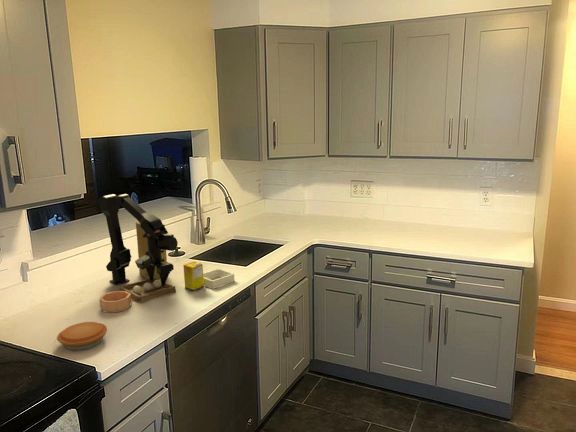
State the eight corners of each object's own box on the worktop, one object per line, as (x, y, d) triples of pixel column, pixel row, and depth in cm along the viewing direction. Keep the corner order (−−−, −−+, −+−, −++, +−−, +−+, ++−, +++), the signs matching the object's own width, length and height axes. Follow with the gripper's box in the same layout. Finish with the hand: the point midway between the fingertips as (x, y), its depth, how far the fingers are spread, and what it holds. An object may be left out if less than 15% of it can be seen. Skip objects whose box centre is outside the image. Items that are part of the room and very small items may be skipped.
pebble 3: (151, 287, 205) (151, 279, 204) (159, 285, 208) (158, 277, 207) (156, 289, 203) (155, 281, 202) (163, 287, 205) (163, 279, 205)
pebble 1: (131, 294, 198) (130, 285, 198) (139, 291, 201) (138, 283, 200) (135, 296, 196) (135, 288, 195) (143, 293, 199) (142, 285, 198)
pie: (112, 330, 168) (111, 317, 167) (102, 351, 153) (101, 337, 152) (66, 333, 165) (64, 320, 164) (51, 356, 151) (49, 341, 149)
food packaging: (169, 276, 220) (165, 224, 215) (149, 281, 215) (145, 227, 209) (157, 269, 231) (153, 219, 225) (138, 273, 225) (134, 222, 219)
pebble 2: (141, 290, 202) (141, 282, 201) (149, 288, 204) (148, 280, 204) (146, 293, 199) (145, 284, 199) (153, 290, 202) (153, 282, 201)
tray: (120, 292, 202) (119, 287, 202) (154, 282, 214) (153, 277, 213) (141, 303, 191) (140, 297, 190) (175, 291, 202) (175, 286, 201)
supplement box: (195, 284, 210) (193, 261, 208) (204, 287, 206) (202, 263, 204) (184, 288, 206) (182, 264, 203) (193, 291, 202) (192, 267, 199)
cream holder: (196, 282, 212) (196, 275, 212) (219, 275, 221) (218, 268, 221) (212, 289, 205) (212, 281, 204) (235, 281, 213) (234, 273, 213)
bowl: (96, 307, 187) (95, 296, 186) (122, 299, 195) (121, 288, 194) (109, 315, 180) (108, 304, 179) (136, 306, 188) (135, 295, 187)
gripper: (125, 247, 202) (129, 282, 205) (149, 256, 189) (152, 293, 193) (149, 242, 210) (152, 276, 213) (173, 250, 197) (175, 286, 201)
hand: (157, 282), depth 205 cm, fingers open, 9 cm apart
